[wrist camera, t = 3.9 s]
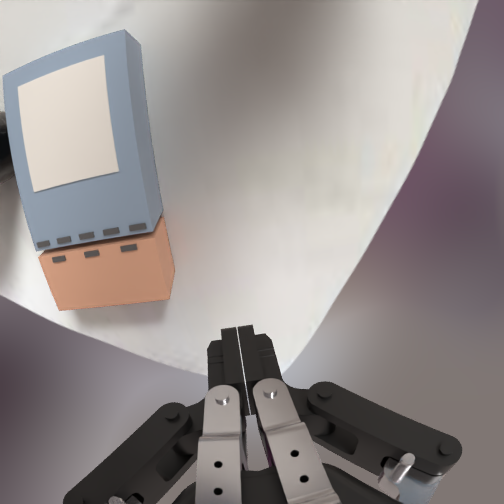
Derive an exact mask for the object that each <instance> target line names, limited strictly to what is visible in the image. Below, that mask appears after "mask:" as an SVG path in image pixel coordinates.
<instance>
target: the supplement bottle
mask: <svg viewBox="0 0 504 504" xmlns="http://www.w3.org/2000/svg"><path fill="white" fill-rule="evenodd" d="M14 174H15V171H14V166H13V161H12V155H11V149H10V143H9V137H8V130H7V122H6V113H5V112H3V111H0V184H2V183H4V182H6V181H7V180H9V179H10V178H11V177H12V176H13V175H14Z"/></svg>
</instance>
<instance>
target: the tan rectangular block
mask: <svg viewBox="0 0 504 504" xmlns="http://www.w3.org/2000/svg"><path fill="white" fill-rule="evenodd" d="M38 258H39V261H40V264H41V266H42V269H43V272H44V274H45V277H46V280H47V282H48V285H49V287H50V290H51V292H52V295H53V297H54V300H55V302H56V304H57V307H58V309H59V311H62V310H73V309H84V308H95V307H104V306H114V305H124V304H133V303H142V302H150V301H159V300H167V299H170V294H171V289H172V283H173V278H174V273H175V268H174V263H173V259H172V254H171V250H170V245H169V240H168V235H167V230H166V225H165V220H164V217H160V218H159V220H158V222H157V224H156V226H155V228H154V230H153V231H152V232H146V233H139V234H133V235H127V236H121V237H115V238H109V239H103V240H97V241H91V242H85V243H79V244H74V245H68V246H63V247H57V248H52V249H46V250H45V251H44V252H43V253H42V254H41V255H40V256H39V257H38Z"/></svg>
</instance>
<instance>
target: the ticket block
mask: <svg viewBox="0 0 504 504" xmlns="http://www.w3.org/2000/svg"><path fill="white" fill-rule="evenodd" d="M3 90H4V103H5V113H6V122H7V130H8V137H9V143H10V149H11V155H12V161H13V166H14V171H15V176H16V180H17V185H18V189H19V193H20V197H21V201H22V205H23V209H24V213H25V216H26V220H27V223H28V227H29V230H30V233H31V237H32V240H33V243H34V246H35V249H36V251H41V250H46V249H52V248H57V247H63V246H68V245H74V244H79V243H85V242H91V241H97V240H103V239H109V238H115V237H121V236H127V235H133V234H139V233H146V232H152V231H153V230H154V228H155V226H156V224H157V222H158V220H159V218H160V215H161V213H162V211H163V206H162V201H161V195H160V190H159V184H158V178H157V172H156V166H155V160H154V153H153V147H152V140H151V133H150V126H149V118H148V110H147V102H146V93H145V84H144V75H143V64H142V53H141V44H140V43H139V42H138V41H137V40H136V39H134V38H133V37H132V36H131V35H130V34H129V33H128V32H127V31H126V30H125V29H124V30H121V31H117V32H113V33H110V34H106V35H103V36H99V37H96V38H93V39H90V40H87V41H84V42H81V43H78V44H75V45H72V46H69V47H67V48H64V49H61V50H59V51H56V52H54V53H51V54H49V55H46V56H44V57H42V58H39V59H37V60H35V61H32V62H30V63H28V64H26V65H24V66H22V67H19V68H17V69H15V70H13V71H11V72H9V73H7V74H5V75H3Z"/></svg>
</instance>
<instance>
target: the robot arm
mask: <svg viewBox="0 0 504 504" xmlns="http://www.w3.org/2000/svg"><path fill="white" fill-rule="evenodd" d="M238 334H239V341H240V347H241V354H242V360H243V367H244V373H245V380H246V386H247V392H248V398H249V404H250V410H251V415H254V414H256V418H257V424H258V430H259V433H260V436H261V440H262V444H263V447H264V451H265V454H266V457H267V461H268V465H269V468H266V469H264V470H261V471H249V468H248V453H247V434H246V417H245V416H247V415H250V413H249V408H248V401H247V395H246V388H245V381H244V375H243V368H242V362H241V355H240V349H239V343H238V336H237V330H236V327H233V328H225V329H221V336H222V340H216V341H211V343H210V345H209V347H208V349H207V356H208V385H209V389H208V392H207V394H206V396H205V398H204V399H203V400H202V401H200V402H199V403H196V404H194V405H191V406H188V407H185V406H184V405H182V404H180V403H175V402H174V403H168V404H165V405H163V406H162V407H160V408H159V409H158V410H157V411H156V412H155V413H154V414H153V415H152V416H151V417H150V418H149V419H148V420H147V421H146V422H145V423H144V424H143V425H142V426H141V427H139V428H138V429H137V430H136V431H135V432H134V433H133V434H132V435H131V436H130V437H129V438H128V439H127V440H126V441H124V442H123V443H122V444H121V445H120V446H119V447H118V448H117V449H116V450H115V451H114V452H113V453H112V454H111V455H110V456H108V457H107V458H106V459H105V460H104V461H103V462H102V463H101V464H99V465H98V466H97V467H96V468H95V469H94V470H93V471H92V472H90V473H89V474H88V475H87V476H86V477H85V478H84V479H83V480H82V481H80V482H79V483H78V484H77V485H76V486H75V487H74V488H72V490H70V491H69V492H68V493H67V494H66V495H65V497H64V500H63V504H156V503H157V502H158V501H159V500H160V499H161V498H162V497H163V496H164V495H165V493H167V492H168V490H169V489H170V488H171V487H172V486H173V485H174V484H175V483H176V482H177V481H178V480H179V479H180V477H181V476H182V475H183V474H184V473H185V472H186V471H187V470H188V469H189V468H190V466H191V465H192V464H193V463H194V462H195V461H196V460H197V475H196V482H194V483H192V484H191V485H189V486H188V487H187V488H186V489H184V490H183V491H182V492H181V494H180V495H179V496H178V497H177V498H176V500H175V501H174V502H173V503H172V504H428V502H429V501H430V499H431V497H432V495H433V494H434V492H435V490H436V488H437V486H438V485H439V483H440V480H441V479H442V478H443V477H444V476H445V474H447V472H448V471H449V470H450V469H451V468H452V467H453V466H454V465H455V463H456V462H457V461H458V460H459V458H460V457H461V454H462V446H461V444H460V442H459V441H458V440H457V439H456V438H455V437H453V436H450V435H448V434H445V433H443V432H440V431H438V430H435V429H433V428H430V427H428V426H426V425H423V424H421V423H418V422H416V421H414V420H411V419H409V418H407V417H405V416H402V415H400V414H397V413H395V412H393V411H391V410H389V409H387V408H384V407H382V406H380V405H378V404H376V403H374V402H371V401H369V400H367V399H365V398H363V397H361V396H359V395H357V394H355V393H352V392H350V391H348V390H346V389H344V388H342V387H340V386H338V385H336V384H334V383H332V382H318V383H316V384H314V385H313V386H311V387H310V389H297V388H293V387H290V386H289V385H287V384H286V383H285V382H284V381H283V379H282V376H281V372H280V369H279V365H278V362H277V358H276V355H275V351H274V347H273V344H272V340H271V339H270V338H269V337H268V336H267V335H266V334H258V335H255V334H254V329H253V325H246V326H239V327H238ZM312 440H313V441H314V442H316V443H318V444H319V445H321V446H323V447H325V448H326V449H328V450H330V451H332V452H333V453H335V454H337V455H339V456H341V457H342V458H344V459H346V460H348V461H350V462H352V463H354V464H356V465H357V466H360V467H361V468H364V469H365V470H367V471H369V472H371V473H373V474H375V475H377V476H378V484H379V487H380V488H381V489H382V490H383V491H384V492H386V493H387V494H388V495H389V496H390V497H389V496H388V495H386V494H384V493H382V492H380V491H378V490H376V489H374V488H373V487H371V486H369V485H367V484H365V483H363V482H362V481H360V480H358V479H356V478H355V477H353V476H351V475H350V474H348V473H346V472H345V471H343V470H341V469H339V468H337V467H335V466H332V465H329V464H325V463H322V462H321V460H320V458H319V455H318V453H317V450H316V448H315V446H314V443H313V441H312Z"/></svg>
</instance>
